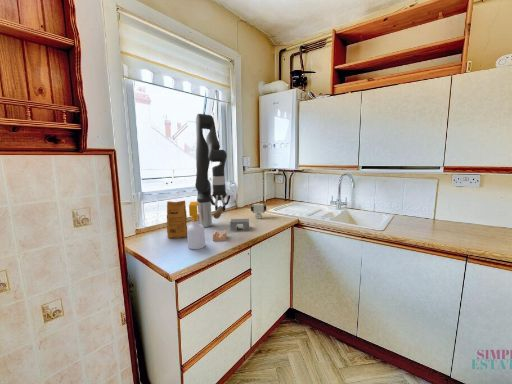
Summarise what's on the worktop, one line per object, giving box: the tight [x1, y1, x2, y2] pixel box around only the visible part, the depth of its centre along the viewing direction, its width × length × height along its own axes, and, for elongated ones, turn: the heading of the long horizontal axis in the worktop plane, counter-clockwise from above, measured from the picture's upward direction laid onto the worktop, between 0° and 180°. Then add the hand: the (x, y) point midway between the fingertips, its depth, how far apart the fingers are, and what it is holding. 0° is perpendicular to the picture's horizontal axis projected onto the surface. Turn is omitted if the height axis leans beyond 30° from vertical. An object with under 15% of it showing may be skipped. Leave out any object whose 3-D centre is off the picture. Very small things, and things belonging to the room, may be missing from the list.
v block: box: [212, 229, 227, 242], centre depth 137 cm, size 7×7×4 cm
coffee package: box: [166, 200, 188, 239], centre depth 142 cm, size 10×12×22 cm
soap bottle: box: [186, 201, 206, 250], centre depth 124 cm, size 9×9×25 cm
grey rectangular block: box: [229, 218, 250, 232], centre depth 154 cm, size 7×12×6 cm, turn 91°
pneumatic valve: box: [250, 202, 267, 220], centre depth 179 cm, size 6×12×12 cm, turn 91°
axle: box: [213, 205, 224, 220], centre depth 135 cm, size 16×4×4 cm, turn 1°
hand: (220, 211), depth 141 cm, fingers closed on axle, 3 cm apart
